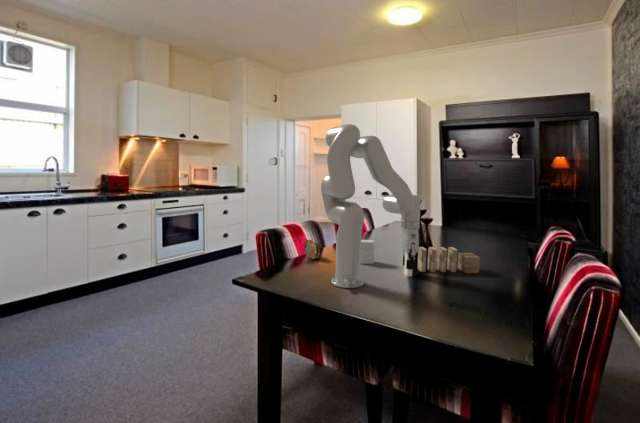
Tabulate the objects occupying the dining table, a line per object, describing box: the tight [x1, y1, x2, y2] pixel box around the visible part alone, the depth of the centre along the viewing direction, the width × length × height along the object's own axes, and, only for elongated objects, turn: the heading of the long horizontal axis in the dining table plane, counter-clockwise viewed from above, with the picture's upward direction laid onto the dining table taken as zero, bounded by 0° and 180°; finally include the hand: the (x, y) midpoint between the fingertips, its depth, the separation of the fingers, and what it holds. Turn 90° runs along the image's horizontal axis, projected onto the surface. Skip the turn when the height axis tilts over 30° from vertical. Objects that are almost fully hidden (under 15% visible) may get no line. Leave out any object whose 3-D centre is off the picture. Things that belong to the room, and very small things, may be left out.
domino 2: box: [417, 246, 428, 273], centre depth 160 cm, size 2×5×10 cm, turn 2°
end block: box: [457, 252, 481, 274], centre depth 161 cm, size 8×6×7 cm
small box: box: [360, 239, 375, 265], centre depth 172 cm, size 8×6×10 cm
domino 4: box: [436, 246, 448, 273], centre depth 161 cm, size 2×5×10 cm, turn 2°
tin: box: [303, 239, 322, 260], centre depth 181 cm, size 15×3×8 cm, turn 25°
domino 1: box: [403, 251, 413, 277], centre depth 153 cm, size 2×5×10 cm, turn 2°
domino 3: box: [426, 246, 438, 273], centre depth 160 cm, size 2×5×10 cm, turn 2°
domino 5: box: [446, 246, 458, 273], centre depth 161 cm, size 2×5×10 cm, turn 2°
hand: (408, 266), depth 153 cm, fingers closed on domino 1, 4 cm apart
